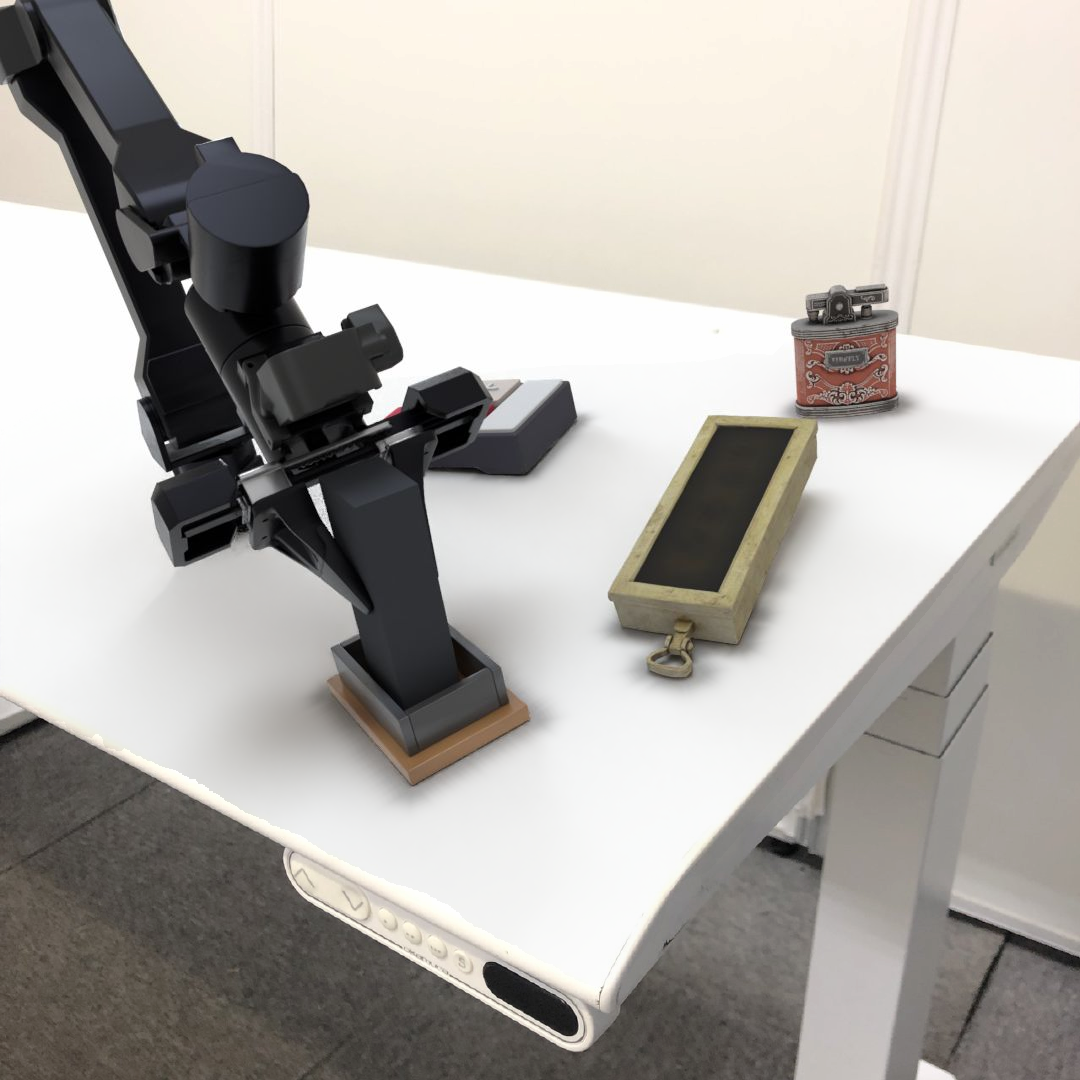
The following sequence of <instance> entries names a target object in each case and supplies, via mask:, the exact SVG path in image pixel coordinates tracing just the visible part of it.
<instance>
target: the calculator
mask: <svg viewBox="0 0 1080 1080" xmlns="http://www.w3.org/2000/svg"><path fill="white" fill-rule="evenodd" d="M482 381H483V383H484V385H485V386H486V388H487V390H488V391H489V393H490V395H491V396H492V398H493V401H492V404H491V406H490V408H489V410H488V412H487V414H486V417H485V419H484V421H483V423H482V425H481V427H480V430H479V432H478V434H477V436H476V438H475V440H474V441H473V442H472V443H470V444H469V445H468V446H467V447H465V448H463V449H461V450H459V451H456V452H454V453H451V454H449V455H447V456H444V457H442V458H440V459H437V460H435V461H433V462H430V463H429V466H428V468H476V469H478V470H480V471H481V472H483V473H485V474H487V475H524V474H528V472H529V471H530V470H531V469H532V468H533V467H534V466H535V465H536V464H537V463H538V462H539V460H540V459H541V458H542V457H543V456H544V455H545V454H546V453H547V452H548V451H549V450H550V448H552V446H553V445H554V444H555V443H556V442H557V441H558V440H559V439H560V438H561V436H562V435H563V434H565V432H566V431H567V430H568V429H569V428H570V427H571V426H572V424H573V423H575V421H577V419H578V414H577V409H576V405H575V400H574V396H573V391H572V387H571V383H570V381H569V380H563V379H562V378H555V379H554V378H551V379H533V380H531V379H530V380H526V381H524V382H522V381H521V379H520V378H510V379H509V378H508V379H489V380H488V379H485V380H482ZM401 408H402V406H398V407H396V408H395V409H394V410H393V411H392V412H390V413H389V414H388V415H386V416H385V417H383V419H386V418H388V417H391V416H393V415H396V414H398V413H400V411H401Z"/></svg>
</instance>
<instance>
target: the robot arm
mask: <svg viewBox="0 0 1080 1080" xmlns="http://www.w3.org/2000/svg"><path fill="white" fill-rule="evenodd" d="M5 85H7V86H8V89H9V91H10V93H11V95H12V97H13V100H14V103H15V104H16V106H17V108H18V111H19V112H20V114H21V115H22V116H24V117H25V118H26V119H27V120H28V121H29V122H31V123H32V124H33V125H34V126H36V127H37V128H38V129H39V130H40V131H41V132H43V133H44V134H45V135H47V136H48V137H49V138H50V139H52V140H53V141H54V142H55V143H56V144H57V145H58V147H59V149H60V152H61V154H62V157H63V159H64V160H65V163H66V165H67V169H68V171H69V173H70V175H71V178H72V180H73V183H74V185H75V187H76V189H77V190H76V191H77V192H78V194H79V197H80V199H81V202H82V203H83V207H84V209H85V211H86V213H87V216H88V218H89V220H90V221H89V222H90V223H91V226H92V227H93V230H94V232H95V235H96V237H97V240H98V242H99V244H100V247H101V249H102V251H103V254H104V256H105V259H106V261H107V263H108V266H109V268H110V270H111V273H112V275H113V277H114V280H115V283H116V284H117V287H118V289H119V293H120V294H121V297H122V299H123V301H124V304H125V306H126V308H127V311H128V313H129V315H130V318H131V321H132V323H133V325H134V328H135V329H136V332H137V335H138V337H139V341H138V348H137V354H136V361H135V366H134V372H133V379H134V382H135V385H136V387H137V389H138V390H137V391H138V392H139V395H140V397H141V398H138V399H136V407H137V414H138V419H139V425H140V431H141V435H142V438H143V440H144V442H145V444H146V446H147V448H148V451H149V453H150V455H151V458H152V459H153V460H154V461H155V462H156V463H157V464H158V465H159V467H161V468H162V470H163V471H164V472H165V473H166V474H167V473H170V472H172V473H173V476H171V477H169V478H165V479H164V480H163V479H162V481H159V482H156V483H155V486H154V488H153V491H152V493H151V497H150V503H151V509H152V514H153V521H154V527H155V530H156V532H157V535H158V537H159V540H160V542H161V545H162V546H163V548H164V550H165V552H166V554H167V556H168V558H169V560H170V562H171V563H172V565H173V568H183V567H184V568H185V567H187V566H190V565H192V564H194V563H196V562H199V561H201V560H204V559H207V558H209V557H210V556H214V555H215V554H219V553H221V552H223V551H226V550H227V549H230V548H231V546H232V544H233V541H234V538H235V536H236V533H237V532H238V531H239V532H240V531H246V530H248V531H249V532H248V533H249V534H248V544H249V546H250V548H251V549H252V550H253V551H261V550H263V549H266V548H272V549H274V550H275V551H276V552H279V553H280V554H281V555H284V556H285V557H287V558H289V559H291V561H293V562H296V563H297V564H298V565H300V566H302V568H305V569H306V570H308V571H309V572H311V573H312V574H314V575H315V576H316V577H318V578H319V579H320V580H322V581H323V582H324V583H325V584H326V585H327V586H329V587H330V588H332V589H333V590H334V591H335V592H336V593H338V594H339V595H340V596H342V597H343V598H344V599H345V600H346V601H348V602H349V603H350V604H351V603H352V604H353V605H354V606H355V607H357V608H358V609H359V610H360V611H362V612H363V613H364V614H366V615H369V614H371V613H373V611H374V605H373V602H372V600H371V598H370V595H369V593H368V591H367V589H366V587H365V585H364V583H363V581H362V579H361V578H360V576H359V575H358V573H357V572H356V570H355V569H354V567H353V566H352V564H351V563H350V561H349V560H348V558H347V557H346V555H345V554H344V552H343V551H342V549H341V548H340V546H339V545H338V543H337V542H336V540H335V539H334V537H333V533H331V531H330V530H329V528H328V527H327V525H326V524H325V522H324V521H323V519H322V517H321V515H320V514H319V511H318V510H317V507H316V504H315V503H314V500H313V498H312V496H311V494H310V491H309V488H312V487H314V486H317V485H320V484H319V480H318V477H319V476H322V475H325V474H327V473H330V472H333V471H336V470H339V469H341V468H344V467H347V466H350V465H353V464H356V463H358V462H361V461H364V460H367V459H370V458H372V457H375V456H380V457H381V458H382V459H384V460H385V461H387V462H388V463H389V464H391V465H392V466H394V467H395V468H396V469H398V470H399V471H401V472H402V473H404V474H405V475H406V476H408V477H409V478H411V479H412V480H413V481H415V482H416V483H418V485H419V490H420V494H421V499H422V504H423V509H424V513H425V518H426V523H427V527H428V532H429V537H430V541H431V546H432V551H433V555H434V560H435V565H436V570H437V574H438V578H439V577H440V575H439V569H438V564H437V563H438V562H437V559H436V554H435V549H434V543H433V542H434V541H433V538H432V532H431V526H430V522H429V516H428V510H427V504H426V497H425V482H424V481H425V480H424V478H425V476H426V473H427V471H428V469H429V467H428V466H429V463H430V462H433V461H435V460H437V459H440V458H442V457H444V456H447V455H449V454H451V453H454V452H456V451H459V450H461V449H463V448H465V447H467V446H468V445H469V444H470V443H472V442H473V441H474V440H475V438H476V436H477V434H478V432H479V430H480V427H481V425H482V423H483V421H484V419H485V417H486V414H487V412H488V410H489V408H490V406H491V404H492V401H493V398H492V396H491V395H490V393H489V391H488V390H487V388H486V386H485V385H484V383H483V381H484V380H482V377H480V375H478V374H476V373H474V372H473V371H471V370H469V369H467V368H465V367H463V366H461V365H460V366H457V367H454V368H452V369H449V370H447V371H445V372H441V373H439V374H436V375H434V376H431V377H428V378H425V379H423V380H420V381H418V382H415V383H413V384H410V385H407V388H406V392H405V395H404V399H403V401H402V405H401V407H402V408H401V411H400V413H398V414H396V415H393V416H391V417H388V418H386V419H384V418H383V419H381V420H378V421H376V422H373V423H370V424H367V422H366V421H365V418H364V416H366V415H369V414H370V413H372V412H373V408H374V407H373V406H374V404H375V403H374V402H375V401H374V400H373V398H372V396H371V394H370V393H369V392H370V391H372V390H374V391H377V390H379V389H381V388H382V387H383V384H382V381H381V378H380V377H379V374H380V373H382V372H385V371H387V370H390V369H392V368H394V367H395V366H396V365H398V364H400V363H401V362H402V361H403V360H404V358H405V357H404V356H405V355H404V348H403V346H402V343H401V341H400V338H399V336H398V334H397V332H396V330H395V327H394V325H393V324H392V322H391V321H390V320H389V317H387V315H386V313H385V312H384V311H383V309H382V307H381V306H380V304H378V303H375V304H371V305H368V306H366V307H362V308H360V309H357V310H354V311H352V312H349V313H347V315H346V317H345V318H343V319H342V320H341V321H340V328H341V330H340V331H337V332H335V333H331V334H328V335H324V334H323V332H322V331H321V330H320V331H317V332H314V330H313V328H312V327H311V325H310V323H309V322H308V319H307V318H306V316H305V315H304V313H303V312H302V309H301V308H300V306H299V304H298V302H297V301H296V299H295V298H294V297H295V296H296V294H297V293H298V291H299V289H301V287H302V285H303V279H304V278H303V277H304V270H305V269H304V267H305V258H306V257H305V256H306V249H307V248H306V247H307V237H308V228H309V218H310V208H311V207H310V206H311V204H310V194H309V192H308V189H307V187H306V184H305V182H304V181H303V179H302V178H301V176H300V175H299V174H298V173H296V172H293V171H292V170H291V169H290V168H288V167H287V166H286V165H284V164H283V163H281V162H279V161H278V160H276V159H274V158H271V157H267V156H265V155H262V154H259V153H252V152H247V151H242V150H241V149H240V147H239V146H238V144H237V142H236V140H235V139H234V137H233V136H226V137H222V138H219V139H214V140H213V139H210V138H207V137H205V136H202V135H201V134H198V133H195V132H193V131H190V130H187V129H185V128H183V127H182V126H181V124H180V122H178V120H177V119H176V118H175V116H174V115H173V113H172V111H171V109H170V108H169V107H168V105H167V104H166V102H165V101H164V99H163V97H162V95H161V94H160V93H159V91H158V89H157V88H156V87H155V84H154V83H153V81H151V79H150V77H149V76H148V74H147V73H146V71H145V70H144V68H143V66H142V65H141V64H140V62H139V60H138V59H137V58H136V55H135V54H134V52H133V51H132V50H131V48H130V46H129V44H128V43H127V42H126V40H125V36H124V34H123V31H122V29H121V26H120V24H119V21H118V17H117V15H116V13H115V9H114V7H113V4H112V2H111V0H15V1H14V4H10V5H5V6H4V5H3V6H0V86H5ZM190 279H191V282H192V283H191V285H190V286H189V288H188V290H187V292H186V290H185V287H184V285H183V282H182V281H186V280H190ZM253 440H254V441H253ZM166 442H168V443H166ZM254 442H255V443H256V445H257V447H258V448H259V450H260V453H261V454H262V455H261V454H259V453H257V450H256V447H255V444H254ZM263 458H264V459H263ZM264 460H265V461H266V463H265V462H264Z"/></svg>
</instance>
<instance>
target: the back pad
mask: <svg viewBox="0 0 1080 1080" xmlns="http://www.w3.org/2000/svg"><path fill="white" fill-rule="evenodd" d="M318 480H319V484H318V485H319V487H320V491H321V495H322V499H323V503H324V506H325V509H326V510H325V511H326V513H327V517H328V521H329V524H330V530H331V532H332V533H331V534H332V536H333V537H334V539H335V540H336V542H337V543H338V545H339V546H340V548H341V549H342V551H343V552H344V554H345V555H346V557H347V558H348V560H349V561H350V563H351V564H352V566H353V567H354V569H355V570H356V572H357V573H358V575H359V576H360V578H361V579H362V581H363V583H364V585H365V587H366V589H367V591H368V593H369V595H370V598H371V600H372V602H373V605H374V611H373V613H371V614H369V615H366V614H364V613H363V612H362V611H360V610H359V609H358V608H357V607H355V606H354V605H353V604H352V603H350V605H351V608H352V612H353V616H354V620H355V624H356V627H357V632H358V634H359V635H360V639H361V643H362V646H363V650H364V654H365V658H366V662H367V665H368V669H369V673H370V677H371V678H372V679H373V680H374V681H375V682H376V683H377V684H378V685H379V686H380V687H381V688H382V689H383V690H384V691H385V692H386V693H387V694H388V695H389V696H390V697H391V699H392V700H393V701H394V702H395V703H396V704H397V705H398V706H399V707H400V708H401V709H402V710H403V711H404V712H405V710H407V709H409V708H411V707H413V706H415V705H417V704H418V703H420V702H422V701H424V700H426V699H428V698H430V697H432V696H434V695H435V694H437V693H439V692H441V691H443V690H445V689H447V688H449V687H450V686H452V685H454V684H456V683H458V682H460V678H459V673H458V668H457V664H456V659H455V654H454V649H453V645H452V640H451V635H450V631H449V626H448V623H449V622H448V618H447V612H446V608H445V603H444V599H443V594H442V589H441V584H440V580H439V577H438V574H439V573H438V574H437V570H436V565H435V560H434V555H433V551H432V546H431V541H430V537H429V532H428V527H427V523H426V518H425V513H424V509H423V504H422V499H421V494H420V490H419V485H418V483H416V482H415V481H413V480H412V479H411V478H409V477H408V476H406V475H405V474H404V473H402V472H401V471H399V470H398V469H396V468H395V467H394V466H392V465H391V464H389V463H388V462H387V461H385V460H384V459H382V458H381V457H380V456H375V457H372V458H370V459H367V460H364V461H361V462H358V463H356V464H353V465H350V466H347V467H344V468H341V469H339V470H336V471H333V472H330V473H327V474H325V475H322V476H319V477H318Z"/></svg>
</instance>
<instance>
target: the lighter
mask: <svg viewBox="0 0 1080 1080" xmlns="http://www.w3.org/2000/svg"><path fill="white" fill-rule="evenodd" d="M889 291H890V288H889V286H887V285H886V283H877V284H868V285H859V286H855V288H852V289H846V287H845V286H844V285H841V284H836V285H833V286H830V287H829V290H828V291H826V292H817V293H809V294H806V295H805V310H806V316H807V317H803V318H798V319H796V320H794V321H792V322H791V324H790V334H791V336H792V337H793V348H794V349H793V350H794V351H793V352H794V368H795V386H796V399H795V401H794V406H795V407H794V410H795V414H796V415H797V416H799V417H800V418H809V419H816V418H819V419H820V418H841V417H852V416H860V415H862V416H863V415H869V414H876V413H881V412H888V411H892V410H895V409H896V408H897V407H899V392H898V391H897V327H898V326H899V313H898V311H896V310H892V309H873V306H872V305H879V304H887V303H889V299H890V297H889V295H890V294H889ZM854 307H860V310H855V309H854ZM820 311H822V313H821V314H820Z"/></svg>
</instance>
